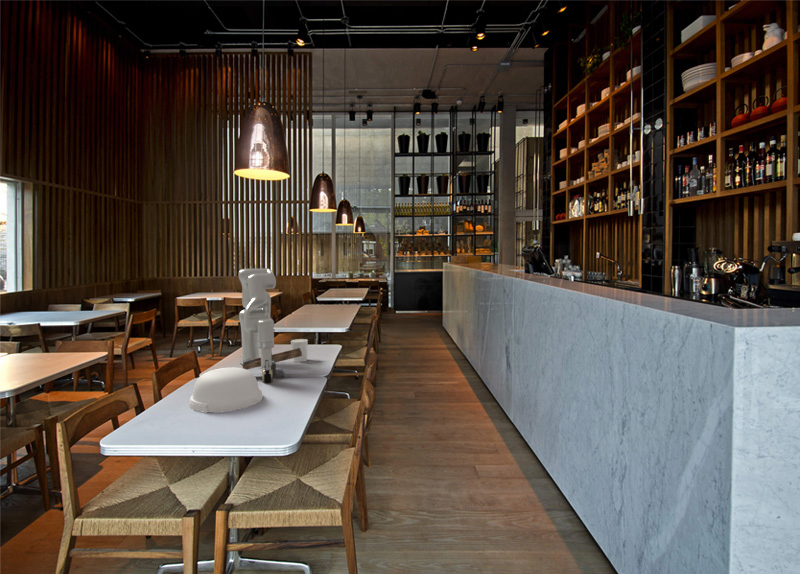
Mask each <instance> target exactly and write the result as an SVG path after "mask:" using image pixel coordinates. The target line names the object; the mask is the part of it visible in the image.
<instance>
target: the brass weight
mask: <svg viewBox="0 0 800 574" xmlns="http://www.w3.org/2000/svg"><path fill="white" fill-rule="evenodd" d="M265 370H266V369H265ZM268 370H269V369H268ZM270 374H271V382H264V368H263V369H261V377H262V383H263V384H270V383H273V382H274V379H273V372H272V369H271V368H270Z"/></svg>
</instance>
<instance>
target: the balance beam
mask: <svg viewBox="0 0 800 574" xmlns="http://www.w3.org/2000/svg"><path fill="white" fill-rule="evenodd" d="M300 356H302V352H301V350H300V348H298V349H294V350H292V349H290V350H285V351H282V352H278V353H274V354H273V353H272V360H273V359H275V362H276V363H279V362H284V361H287V360H291V359H292V360H293V358H296V357H300ZM265 361H266V360H265ZM241 365H242V368H243V369H246V370H251V369H255V368H259V367H260V368H261V357H259V358H257V359H253V358H249V359H245V360H243V364H241Z"/></svg>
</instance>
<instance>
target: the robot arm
mask: <svg viewBox="0 0 800 574" xmlns="http://www.w3.org/2000/svg"><path fill="white" fill-rule="evenodd" d="M275 276H276V275H275V274H274V272H273V271H272V270H271V269H270V268H241V269H240V270H239V271H238V280H239V282H240V284H241V287H242V290H241V303H242V307H243V308H244V309H242V310H241V311H240V312H239V313H238V318H239V324H240V331H241V332H240V333H241V350H242V353H241V355H240V357H241V359H240V360H239V363H240V364H241V365H243V360H245V359H249V358H253V359H257V358H261V366H260V368H261V370H263V369H264V382H271V374H270V369H271V365H272V355H273V348H275V333H274V329H275V321H274V320H273V318H272V317H271V310H272V309H271V308H272V307H271V306H272V298H271V295H270V293H269V292H268V291H266V290H271V289H272V290H273V289H275V288H276V285H277V281H276V277H275ZM265 360H266V361H265ZM265 369H266V370H265ZM268 369H269V370H268ZM271 383H272V382H271Z"/></svg>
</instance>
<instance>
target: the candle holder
mask: <svg viewBox="0 0 800 574" xmlns="http://www.w3.org/2000/svg"><path fill="white" fill-rule="evenodd" d="M308 341H309V340H308V339H306V338H305V339H304V338H298V339H297V338H296V339H292V340H290V347H291V350H294V349H298V348H300V350H301V352H302V356H300V357H296V358H292V362H293V361H294V363H303V362H306V361H308V345H309V344H308Z"/></svg>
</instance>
